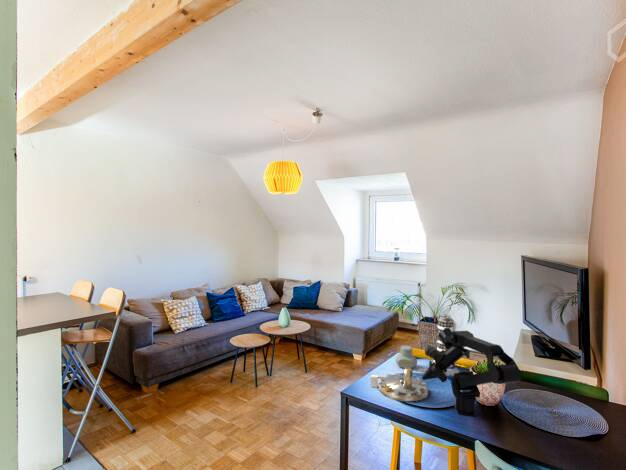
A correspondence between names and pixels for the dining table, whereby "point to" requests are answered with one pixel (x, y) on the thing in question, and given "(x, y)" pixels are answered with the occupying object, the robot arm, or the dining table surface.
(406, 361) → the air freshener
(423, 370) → the caliper
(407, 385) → the sprocket
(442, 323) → the decorative candle
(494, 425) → the dining table surface
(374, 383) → the pointer post
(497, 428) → the dining table surface
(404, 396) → the sprocket base
